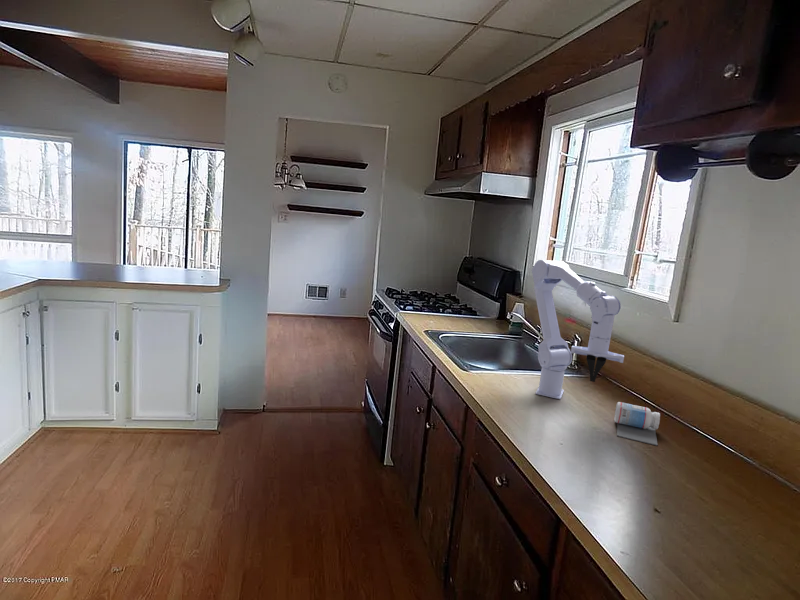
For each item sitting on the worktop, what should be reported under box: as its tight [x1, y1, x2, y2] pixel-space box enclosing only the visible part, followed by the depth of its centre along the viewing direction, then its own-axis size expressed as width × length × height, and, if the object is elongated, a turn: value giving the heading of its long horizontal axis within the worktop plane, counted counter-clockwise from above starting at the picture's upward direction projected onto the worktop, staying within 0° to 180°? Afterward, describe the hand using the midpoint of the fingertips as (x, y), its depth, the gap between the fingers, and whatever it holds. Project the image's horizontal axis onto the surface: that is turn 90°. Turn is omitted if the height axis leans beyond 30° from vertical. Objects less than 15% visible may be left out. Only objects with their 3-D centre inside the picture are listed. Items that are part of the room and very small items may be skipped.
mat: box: [616, 423, 659, 447], centre depth 147 cm, size 20×10×1 cm, turn 157°
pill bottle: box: [613, 401, 661, 430], centre depth 146 cm, size 6×6×11 cm
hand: (592, 380), depth 152 cm, fingers closed
